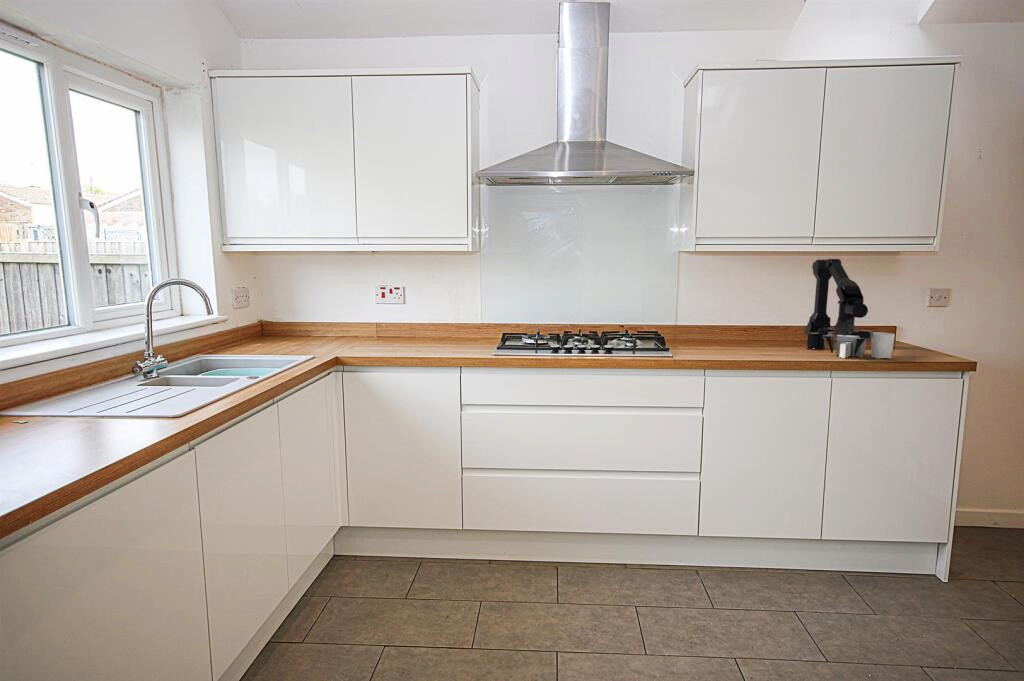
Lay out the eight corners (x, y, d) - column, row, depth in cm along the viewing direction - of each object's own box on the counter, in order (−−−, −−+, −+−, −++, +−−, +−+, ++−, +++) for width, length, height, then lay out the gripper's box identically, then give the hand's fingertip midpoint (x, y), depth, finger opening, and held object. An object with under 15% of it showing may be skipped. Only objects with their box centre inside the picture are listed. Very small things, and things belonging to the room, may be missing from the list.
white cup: (869, 358, 236) (871, 333, 234) (870, 355, 242) (872, 331, 241) (892, 359, 231) (894, 335, 230) (892, 357, 238) (894, 333, 237)
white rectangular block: (848, 353, 246) (849, 340, 245) (854, 354, 244) (855, 341, 244) (839, 357, 235) (840, 344, 234) (844, 358, 233) (845, 344, 233)
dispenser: (840, 352, 249) (842, 332, 248) (864, 355, 243) (866, 334, 242) (835, 354, 244) (837, 334, 243) (860, 357, 238) (861, 336, 236)
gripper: (815, 315, 234) (812, 353, 236) (868, 318, 221) (865, 358, 223) (823, 313, 242) (820, 350, 244) (875, 316, 229) (871, 355, 231)
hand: (843, 354), depth 235 cm, fingers open, 8 cm apart
